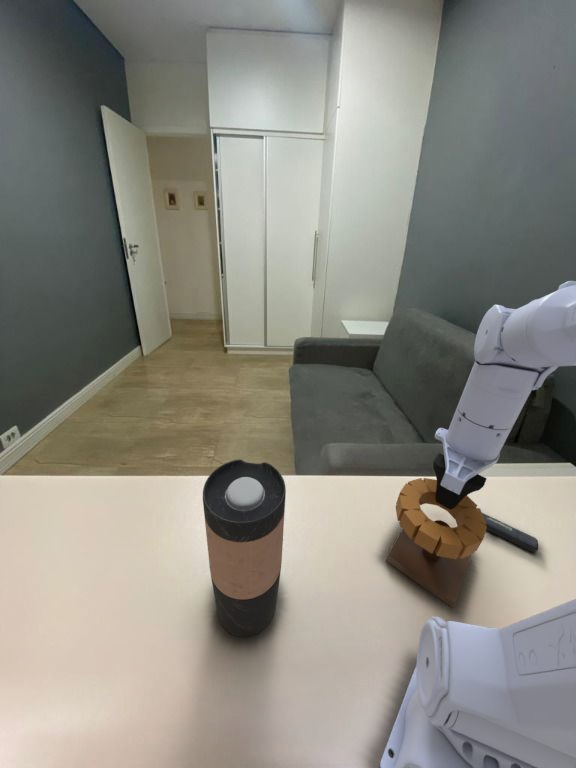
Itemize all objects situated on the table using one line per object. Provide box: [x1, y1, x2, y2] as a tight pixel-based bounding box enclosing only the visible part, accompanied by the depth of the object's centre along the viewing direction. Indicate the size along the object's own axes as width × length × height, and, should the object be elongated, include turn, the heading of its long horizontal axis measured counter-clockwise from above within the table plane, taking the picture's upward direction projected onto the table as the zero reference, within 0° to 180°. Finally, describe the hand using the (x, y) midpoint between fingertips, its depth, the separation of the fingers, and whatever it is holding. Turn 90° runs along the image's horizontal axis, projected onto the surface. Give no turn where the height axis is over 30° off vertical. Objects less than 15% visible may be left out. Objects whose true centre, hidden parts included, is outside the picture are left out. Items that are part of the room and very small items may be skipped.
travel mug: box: [202, 459, 287, 638], centre depth 33 cm, size 8×8×20 cm
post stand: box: [385, 519, 472, 609], centre depth 42 cm, size 9×9×7 cm
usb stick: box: [482, 512, 539, 553], centre depth 48 cm, size 10×3×2 cm, turn 55°
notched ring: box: [395, 477, 487, 559], centre depth 39 cm, size 10×10×2 cm
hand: (447, 496), depth 42 cm, fingers closed on notched ring, 3 cm apart
